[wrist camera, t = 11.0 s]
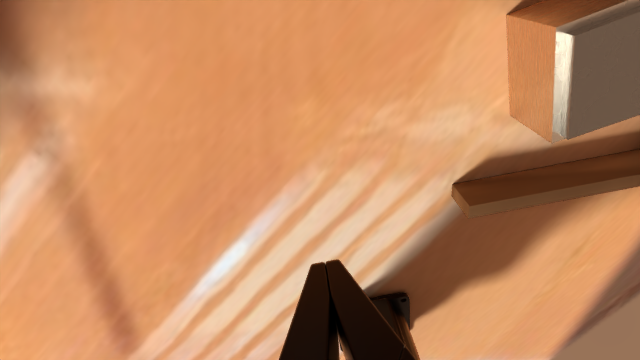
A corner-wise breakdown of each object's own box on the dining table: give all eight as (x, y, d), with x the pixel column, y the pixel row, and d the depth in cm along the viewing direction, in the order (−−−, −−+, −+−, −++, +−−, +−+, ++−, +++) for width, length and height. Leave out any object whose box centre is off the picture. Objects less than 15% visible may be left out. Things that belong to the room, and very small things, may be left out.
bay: (659, 156, 24) (695, 175, 22) (451, 195, 24) (468, 218, 22) (787, -120, 16) (863, -132, 14) (471, -63, 16) (501, -66, 14)
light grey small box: (606, 79, 21) (682, 106, 17) (508, 114, 21) (559, 148, 18) (620, -31, 18) (717, -28, 14) (504, 14, 18) (566, 29, 14)
